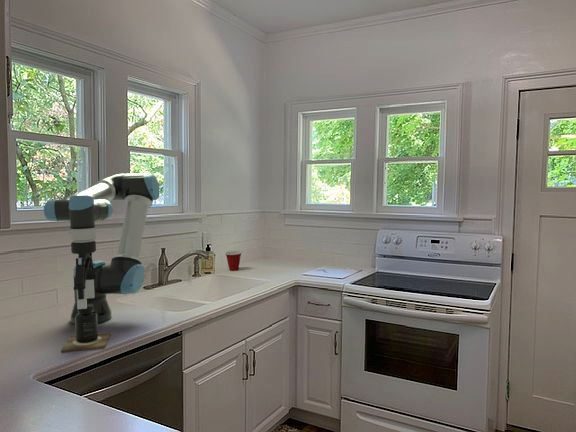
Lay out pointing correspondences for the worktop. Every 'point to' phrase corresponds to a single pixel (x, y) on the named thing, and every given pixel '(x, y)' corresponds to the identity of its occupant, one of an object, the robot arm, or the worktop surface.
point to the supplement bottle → (86, 325)
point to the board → (97, 344)
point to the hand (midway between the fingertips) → (86, 303)
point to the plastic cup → (233, 259)
